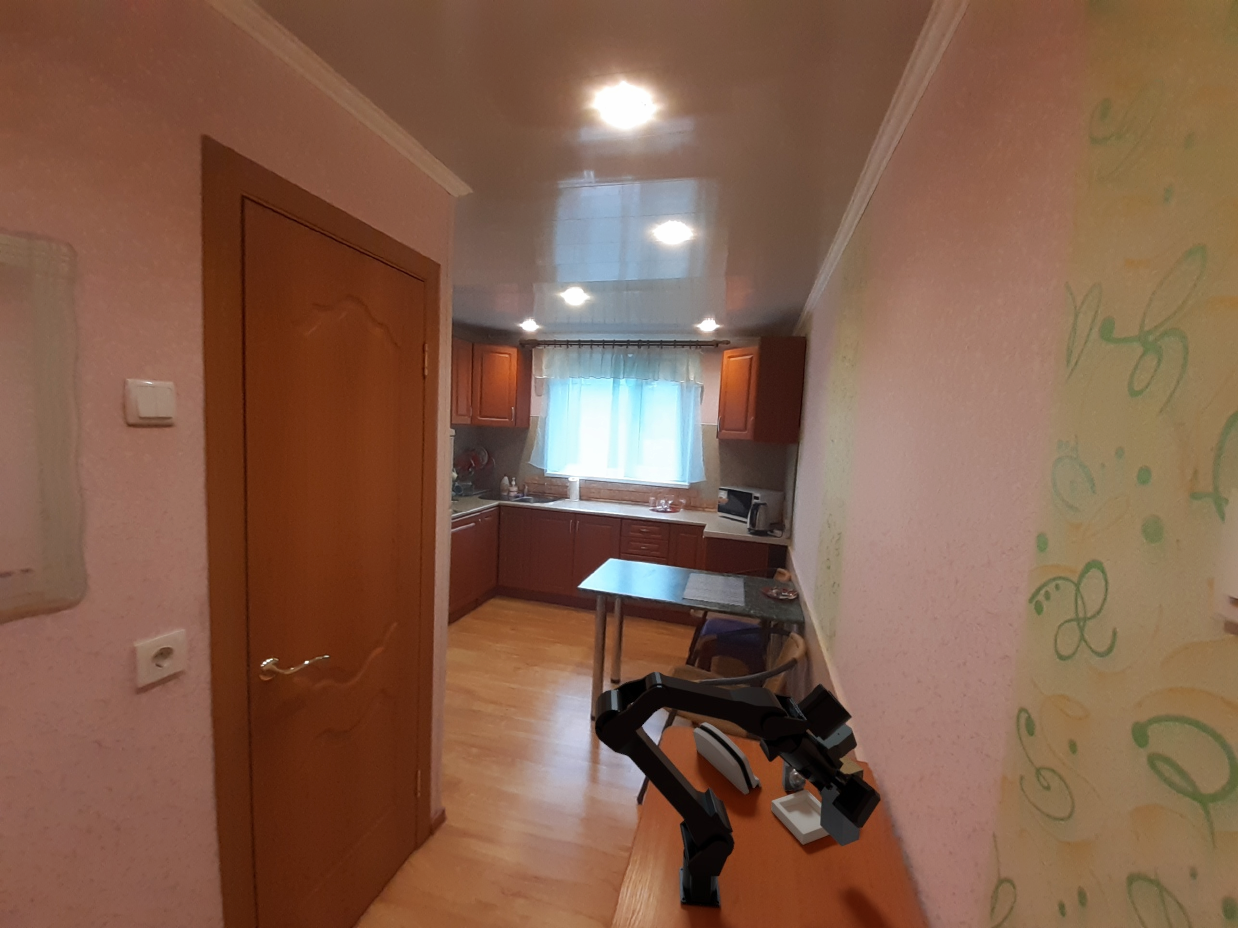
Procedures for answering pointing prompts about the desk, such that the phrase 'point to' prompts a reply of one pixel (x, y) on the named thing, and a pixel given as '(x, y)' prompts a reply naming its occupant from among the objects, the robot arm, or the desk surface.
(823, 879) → the desk surface
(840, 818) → the tan and grey block
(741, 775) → the white electronic device
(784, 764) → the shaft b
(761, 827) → the desk surface
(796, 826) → the white square tray
